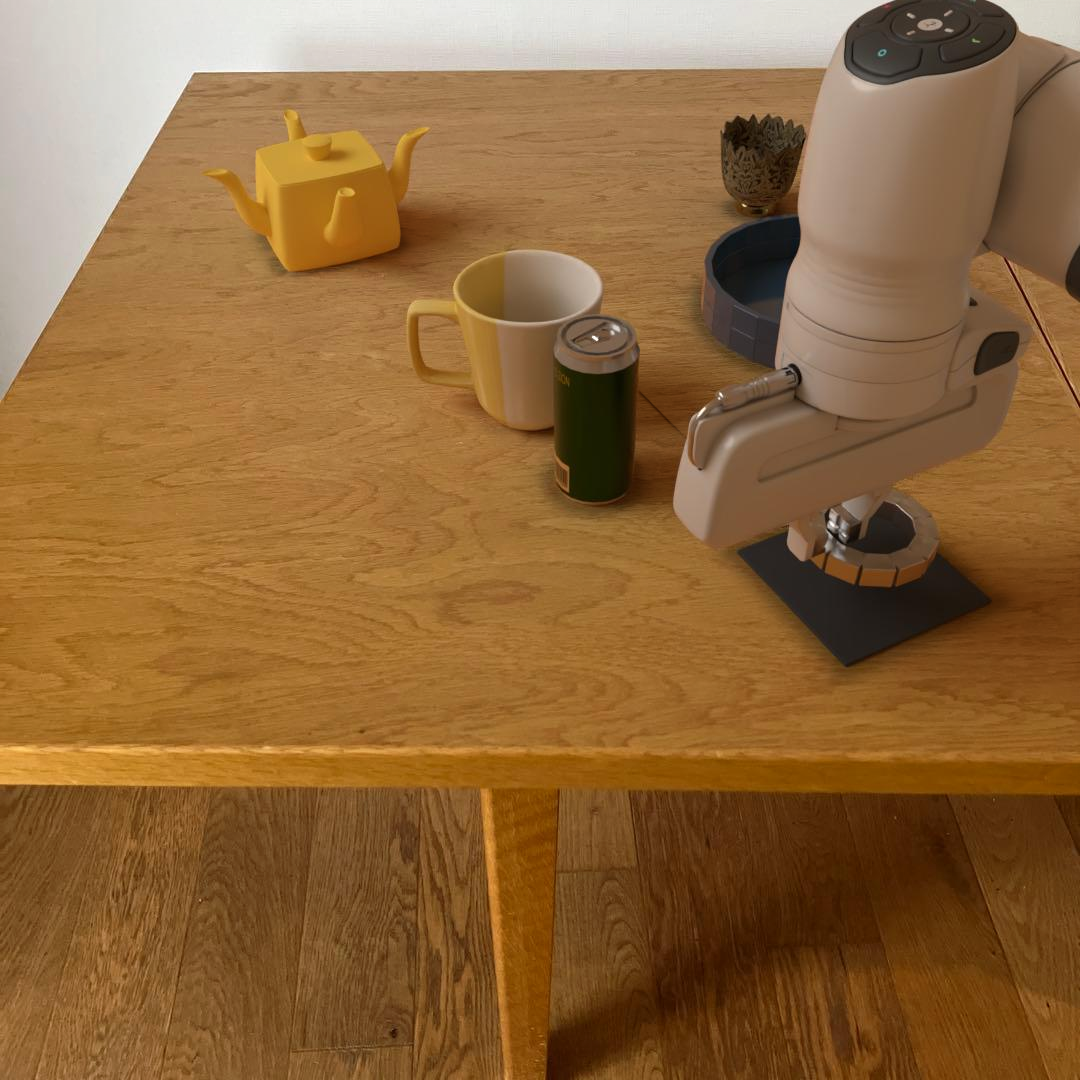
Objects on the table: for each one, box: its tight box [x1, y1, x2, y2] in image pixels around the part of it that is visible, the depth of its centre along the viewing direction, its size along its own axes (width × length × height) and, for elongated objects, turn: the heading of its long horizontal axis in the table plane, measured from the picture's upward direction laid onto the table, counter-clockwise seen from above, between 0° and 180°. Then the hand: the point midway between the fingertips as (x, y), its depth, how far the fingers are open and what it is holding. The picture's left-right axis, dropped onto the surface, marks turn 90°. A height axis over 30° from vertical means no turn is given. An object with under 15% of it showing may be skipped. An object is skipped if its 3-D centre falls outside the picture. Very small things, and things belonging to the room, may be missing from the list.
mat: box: [736, 515, 993, 668], centre depth 74 cm, size 11×11×1 cm
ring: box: [811, 488, 941, 587], centre depth 72 cm, size 8×8×1 cm
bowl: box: [700, 213, 801, 370], centre depth 95 cm, size 18×18×4 cm
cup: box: [719, 113, 807, 219], centre depth 107 cm, size 8×7×8 cm
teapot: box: [200, 108, 430, 272], centre depth 104 cm, size 15×14×10 cm
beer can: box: [553, 313, 641, 506], centre depth 78 cm, size 5×5×12 cm
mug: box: [405, 248, 605, 432], centre depth 85 cm, size 14×10×10 cm
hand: (825, 543), depth 70 cm, fingers closed on ring, 1 cm apart
